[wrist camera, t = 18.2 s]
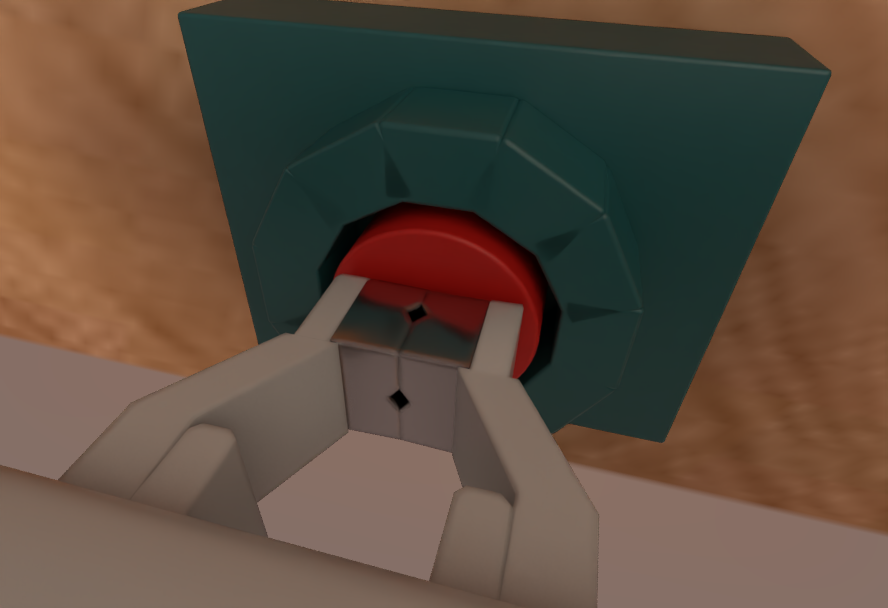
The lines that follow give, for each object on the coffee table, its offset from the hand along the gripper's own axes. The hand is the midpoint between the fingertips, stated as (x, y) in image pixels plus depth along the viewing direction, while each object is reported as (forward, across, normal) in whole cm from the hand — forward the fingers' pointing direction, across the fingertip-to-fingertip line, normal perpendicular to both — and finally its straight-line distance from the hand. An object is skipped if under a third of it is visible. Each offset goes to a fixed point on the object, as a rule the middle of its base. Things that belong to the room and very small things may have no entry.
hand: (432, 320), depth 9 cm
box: (+4, 0, 0) cm, 4 cm away
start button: (+2, 0, 0) cm, 2 cm away
